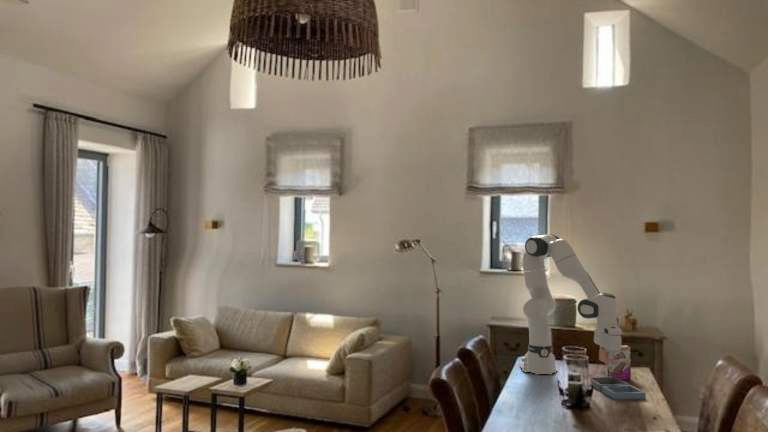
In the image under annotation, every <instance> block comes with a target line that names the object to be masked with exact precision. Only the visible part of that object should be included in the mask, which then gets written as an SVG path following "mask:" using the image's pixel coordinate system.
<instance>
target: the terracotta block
mask: <svg viewBox="0 0 768 432" xmlns="http://www.w3.org/2000/svg"><path fill="white" fill-rule="evenodd" d="M598 351H599V352H598V360H599V361H600V362H602V363H604V364H605V363H614V353H613V358H612V359H608V358H607V357H608V356H607V355H608V354H609V351H608V349H600V348H599V350H598Z"/></svg>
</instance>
